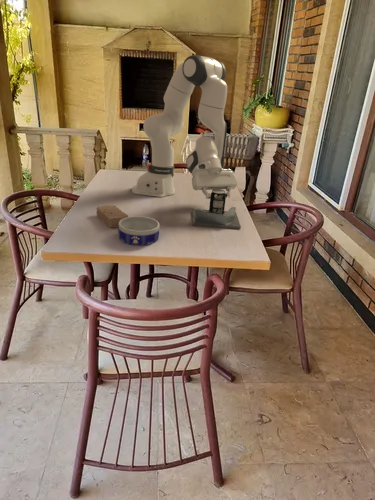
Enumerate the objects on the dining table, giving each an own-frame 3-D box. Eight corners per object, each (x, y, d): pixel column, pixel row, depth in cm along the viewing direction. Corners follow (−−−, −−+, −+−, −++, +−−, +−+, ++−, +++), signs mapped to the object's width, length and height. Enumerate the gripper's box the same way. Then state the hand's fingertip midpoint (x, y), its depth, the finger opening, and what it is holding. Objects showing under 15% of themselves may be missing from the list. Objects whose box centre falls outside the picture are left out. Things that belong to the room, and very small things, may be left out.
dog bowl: (160, 231, 152) (161, 217, 149) (157, 247, 138) (157, 232, 135) (122, 228, 151) (122, 214, 149) (115, 244, 138) (115, 229, 135)
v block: (192, 211, 175) (193, 200, 173) (235, 214, 176) (236, 203, 173) (193, 226, 159) (194, 214, 156) (240, 229, 159) (242, 217, 157)
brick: (95, 215, 162) (95, 205, 160) (114, 213, 167) (114, 203, 164) (110, 229, 150) (110, 218, 148) (129, 226, 154) (129, 215, 152)
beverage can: (215, 213, 171) (217, 187, 166) (226, 217, 167) (229, 191, 162) (205, 216, 166) (207, 190, 161) (216, 221, 162) (219, 194, 157)
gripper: (230, 172, 172) (237, 199, 168) (188, 173, 165) (194, 202, 162) (235, 165, 167) (243, 193, 163) (192, 165, 160) (199, 195, 156)
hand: (218, 197), depth 162 cm, fingers open, 8 cm apart
